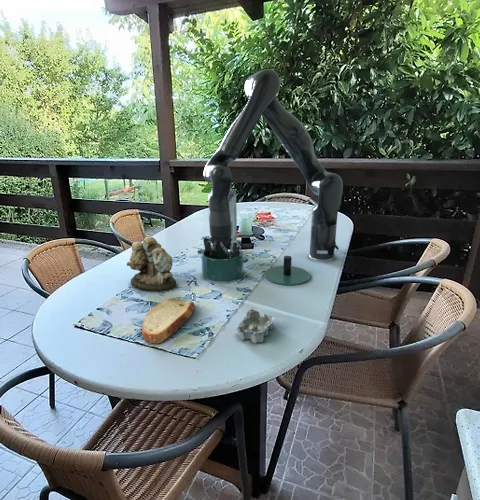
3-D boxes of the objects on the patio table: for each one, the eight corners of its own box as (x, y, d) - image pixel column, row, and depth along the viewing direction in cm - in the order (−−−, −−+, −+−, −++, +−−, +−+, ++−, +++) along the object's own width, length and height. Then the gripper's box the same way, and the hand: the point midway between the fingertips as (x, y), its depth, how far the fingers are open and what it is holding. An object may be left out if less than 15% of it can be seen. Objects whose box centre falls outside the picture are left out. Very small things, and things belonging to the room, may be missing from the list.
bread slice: (147, 347, 92) (146, 334, 91) (131, 314, 108) (130, 303, 107) (212, 329, 99) (211, 317, 98) (188, 301, 114) (187, 290, 113)
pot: (211, 262, 144) (210, 242, 141) (256, 272, 133) (256, 251, 130) (188, 276, 133) (187, 254, 130) (235, 288, 122) (235, 264, 119)
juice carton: (229, 242, 166) (228, 182, 157) (238, 249, 157) (238, 186, 147) (211, 245, 163) (209, 184, 154) (219, 252, 154) (217, 188, 145)
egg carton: (251, 319, 103) (251, 306, 102) (276, 326, 99) (277, 312, 98) (233, 337, 95) (233, 324, 93) (260, 346, 91) (260, 332, 89)
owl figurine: (121, 287, 126) (114, 240, 120) (138, 274, 136) (133, 230, 130) (168, 294, 120) (163, 245, 114) (182, 279, 130) (179, 234, 124)
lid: (276, 265, 138) (276, 246, 136) (316, 274, 129) (317, 253, 127) (256, 280, 126) (256, 260, 124) (299, 291, 118) (300, 269, 115)
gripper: (243, 221, 125) (245, 266, 131) (209, 217, 133) (212, 259, 139) (232, 227, 119) (234, 274, 125) (196, 222, 127) (200, 266, 133)
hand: (222, 266), depth 132 cm, fingers open, 6 cm apart
